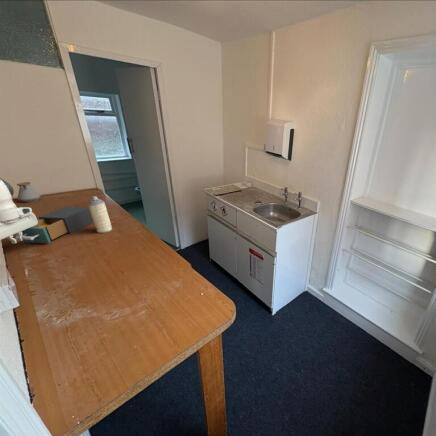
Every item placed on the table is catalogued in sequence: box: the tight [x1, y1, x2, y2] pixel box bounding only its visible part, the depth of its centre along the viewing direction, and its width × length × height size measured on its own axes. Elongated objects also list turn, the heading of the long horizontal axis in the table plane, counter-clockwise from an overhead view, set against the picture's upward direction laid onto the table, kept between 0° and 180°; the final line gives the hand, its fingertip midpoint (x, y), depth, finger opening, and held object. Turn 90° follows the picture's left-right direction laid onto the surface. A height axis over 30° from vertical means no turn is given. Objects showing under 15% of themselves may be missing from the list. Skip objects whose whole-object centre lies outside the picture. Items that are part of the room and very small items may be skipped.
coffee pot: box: [15, 181, 42, 203], centre depth 162 cm, size 21×12×15 cm, turn 48°
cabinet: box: [38, 206, 94, 235], centre depth 130 cm, size 16×14×10 cm
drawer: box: [21, 218, 68, 244], centre depth 118 cm, size 19×12×8 cm, turn 0°
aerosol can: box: [88, 195, 113, 234], centre depth 127 cm, size 7×7×20 cm
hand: (17, 242), depth 106 cm, fingers closed
